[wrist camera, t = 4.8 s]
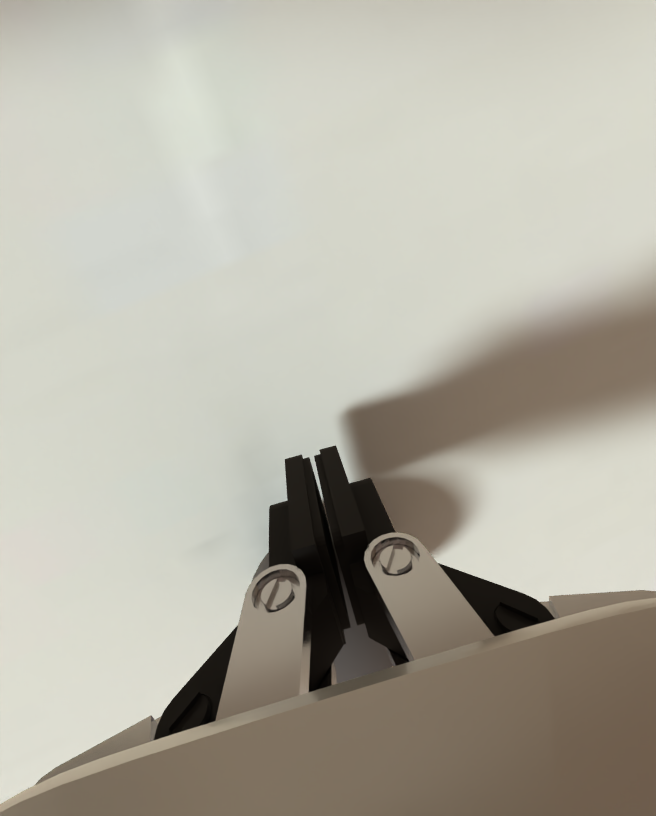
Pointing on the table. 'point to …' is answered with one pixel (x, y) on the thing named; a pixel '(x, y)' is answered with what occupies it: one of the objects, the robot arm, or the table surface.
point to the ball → (352, 642)
